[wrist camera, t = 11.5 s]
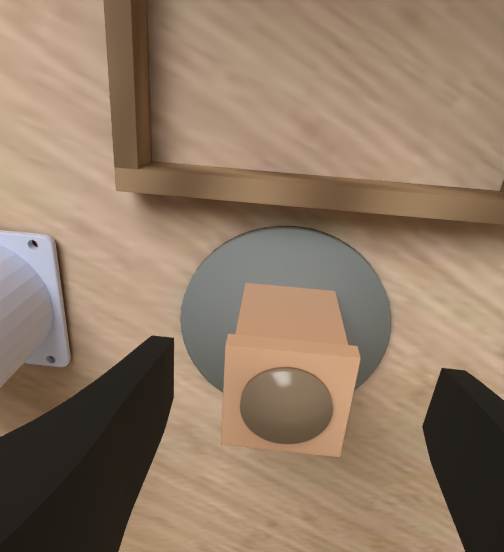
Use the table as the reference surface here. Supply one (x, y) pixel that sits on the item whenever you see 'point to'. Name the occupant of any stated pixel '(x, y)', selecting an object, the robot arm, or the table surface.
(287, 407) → the orange block with dome
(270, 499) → the table surface
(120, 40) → the cold frame
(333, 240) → the mat
